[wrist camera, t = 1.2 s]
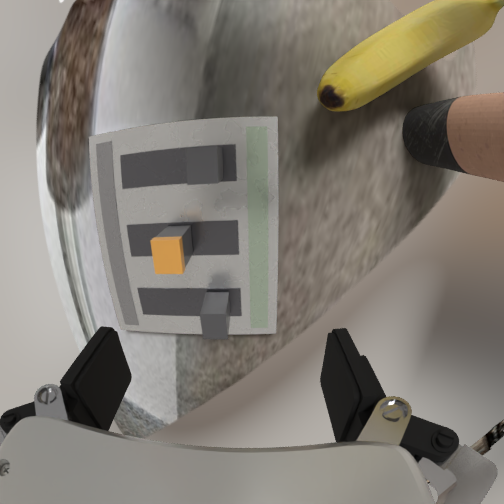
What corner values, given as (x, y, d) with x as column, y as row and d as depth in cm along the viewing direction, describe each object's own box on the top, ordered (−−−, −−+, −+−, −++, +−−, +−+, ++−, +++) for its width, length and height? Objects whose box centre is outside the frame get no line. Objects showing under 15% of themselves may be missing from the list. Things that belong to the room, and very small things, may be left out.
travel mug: (417, 177, 27) (558, 222, 8) (389, 118, 25) (537, 105, 6) (455, 151, 26) (584, 176, 7) (431, 96, 23) (563, 81, 5)
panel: (95, 137, 25) (88, 136, 24) (276, 118, 25) (277, 116, 24) (124, 323, 34) (120, 330, 32) (275, 326, 34) (276, 334, 32)
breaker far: (206, 292, 30) (199, 314, 26) (228, 291, 30) (225, 314, 26) (208, 315, 31) (203, 338, 27) (230, 315, 31) (227, 339, 27)
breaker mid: (166, 225, 27) (150, 240, 22) (191, 224, 27) (179, 239, 22) (169, 254, 28) (155, 274, 24) (193, 253, 28) (182, 273, 24)
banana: (326, 134, 26) (458, 114, 7) (289, 92, 24) (362, -9, 6) (442, 50, 21) (552, 18, 2) (415, 15, 19) (512, -39, 1)
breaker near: (196, 149, 25) (185, 148, 20) (222, 147, 25) (216, 146, 20) (197, 179, 26) (187, 185, 21) (223, 178, 26) (218, 183, 21)
